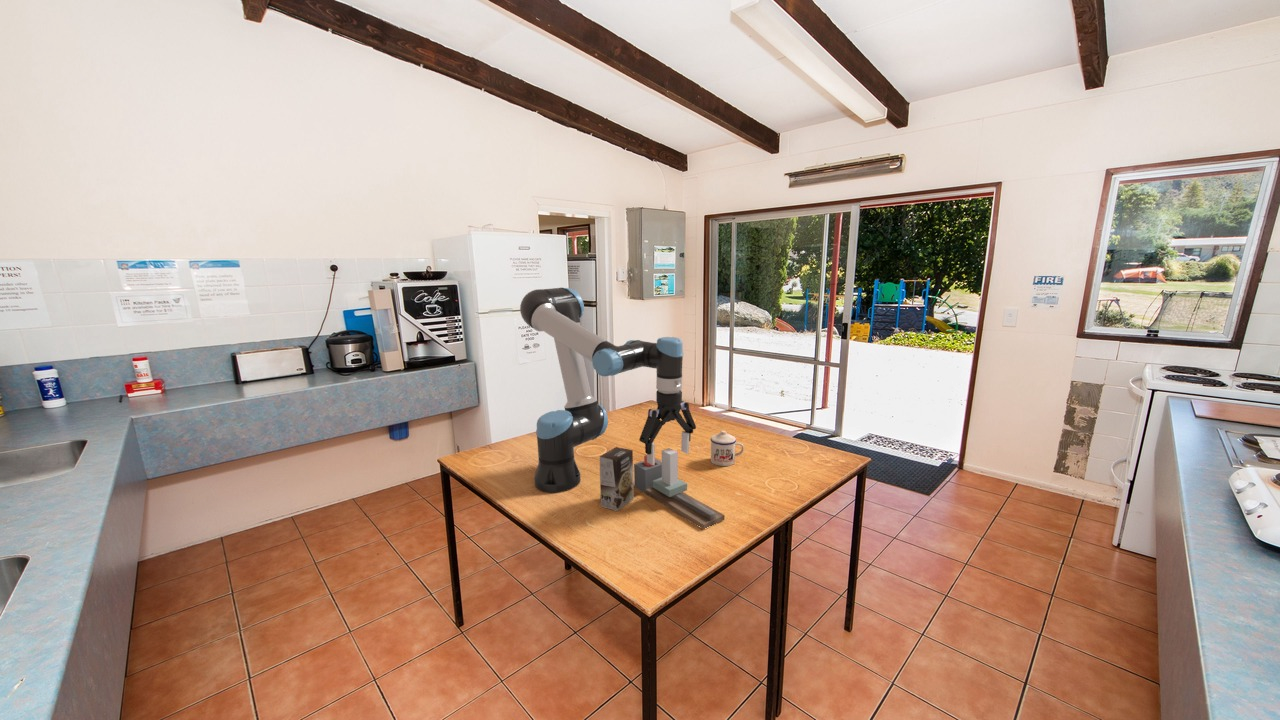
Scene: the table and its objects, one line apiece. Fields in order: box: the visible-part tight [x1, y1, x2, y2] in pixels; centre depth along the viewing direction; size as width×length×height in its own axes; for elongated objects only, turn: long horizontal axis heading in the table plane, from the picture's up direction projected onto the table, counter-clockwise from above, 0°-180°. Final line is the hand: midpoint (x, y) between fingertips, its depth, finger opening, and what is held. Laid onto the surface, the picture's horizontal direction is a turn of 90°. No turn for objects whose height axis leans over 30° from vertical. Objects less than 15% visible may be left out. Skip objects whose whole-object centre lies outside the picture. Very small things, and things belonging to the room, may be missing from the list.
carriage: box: [653, 447, 688, 497], centre depth 142 cm, size 7×8×12 cm
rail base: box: [645, 487, 725, 530], centre depth 139 cm, size 8×26×3 cm, turn 37°
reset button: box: [643, 454, 654, 468], centre depth 150 cm, size 3×3×5 cm
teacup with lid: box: [710, 430, 745, 467], centre depth 169 cm, size 12×9×12 cm
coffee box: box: [599, 446, 634, 512], centre depth 140 cm, size 9×6×16 cm
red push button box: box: [633, 458, 662, 495], centre depth 151 cm, size 8×6×8 cm
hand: (668, 457), depth 142 cm, fingers open, 13 cm apart
